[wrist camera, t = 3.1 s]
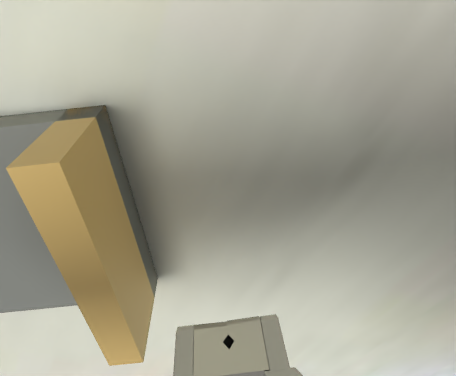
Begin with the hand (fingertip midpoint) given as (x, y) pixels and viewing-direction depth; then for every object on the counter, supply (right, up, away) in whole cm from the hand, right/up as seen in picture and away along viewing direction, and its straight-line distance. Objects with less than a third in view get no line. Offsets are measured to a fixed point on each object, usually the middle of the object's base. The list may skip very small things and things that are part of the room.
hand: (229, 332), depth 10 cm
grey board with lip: (-10, +3, +6) cm, 12 cm away
